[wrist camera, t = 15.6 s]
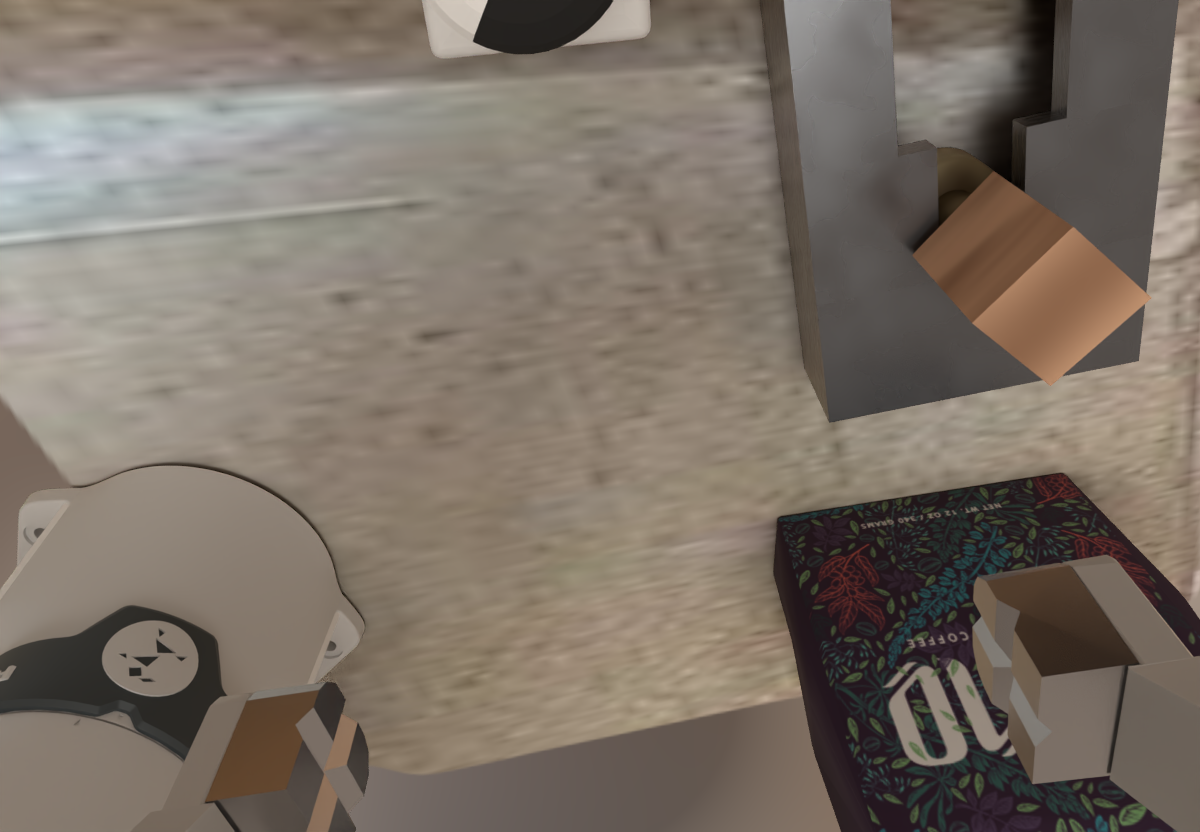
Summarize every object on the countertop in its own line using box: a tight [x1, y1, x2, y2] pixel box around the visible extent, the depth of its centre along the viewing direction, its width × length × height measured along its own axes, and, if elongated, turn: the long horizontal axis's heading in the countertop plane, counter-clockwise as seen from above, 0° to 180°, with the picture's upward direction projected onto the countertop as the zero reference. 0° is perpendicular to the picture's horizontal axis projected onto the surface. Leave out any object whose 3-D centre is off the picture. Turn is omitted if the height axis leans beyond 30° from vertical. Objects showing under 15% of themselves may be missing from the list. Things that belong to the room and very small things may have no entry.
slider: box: [912, 147, 1151, 386], centre depth 33 cm, size 4×4×12 cm
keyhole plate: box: [760, 0, 1179, 423], centre depth 34 cm, size 20×13×5 cm, turn 13°
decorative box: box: [773, 473, 1200, 832], centre depth 36 cm, size 8×16×28 cm, turn 101°
